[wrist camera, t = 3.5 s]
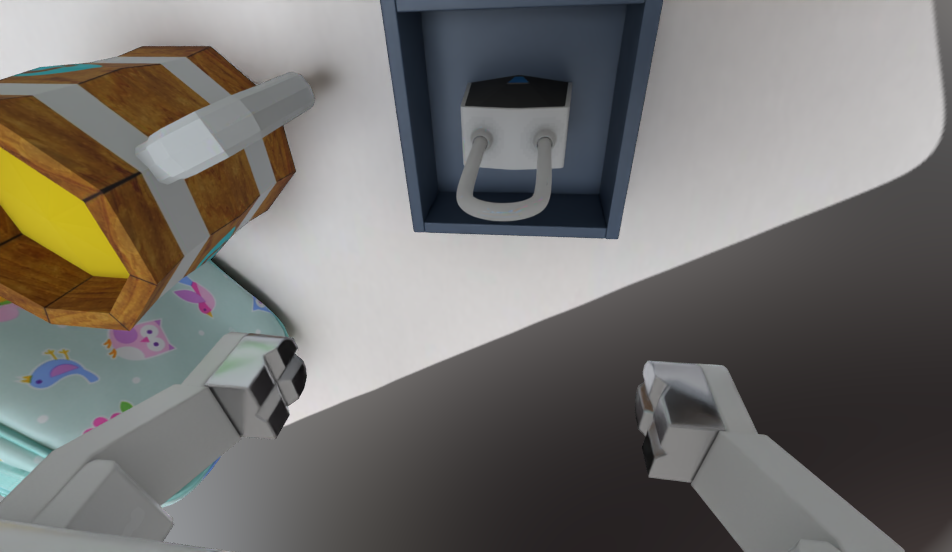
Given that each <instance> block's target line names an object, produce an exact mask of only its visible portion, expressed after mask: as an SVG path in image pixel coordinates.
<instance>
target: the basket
mask: <svg viewBox="0 0 952 552" xmlns="http://www.w3.org/2000/svg"><path fill="white" fill-rule="evenodd" d="M380 3H381V10H382V17H383V24H384V31H385V37H386V44H387V51H388V58H389V65H390V72H391V79H392V85H393V92H394V99H395V106H396V113H397V120H398V126H399V133H400V140H401V147H402V154H403V161H404V167H405V174H406V181H407V188H408V195H409V202H410V208H411V215H412V222H413V229H414V232H429V233H459V234H489V235H518V236H548V237H577V238H606V239H618V236H619V231H620V226H621V221H622V215H623V210H624V205H625V199H626V194H627V189H628V184H629V178H630V173H631V168H632V162H633V157H634V152H635V147H636V141H637V136H638V131H639V125H640V120H641V115H642V110H643V104H644V99H645V94H646V88H647V83H648V78H649V72H650V67H651V62H652V57H653V51H654V46H655V41H656V35H657V30H658V25H659V20H660V14H661V9H662V4H663V0H380ZM515 75H525V76H531V77H538V78H544V79H551V80H557V81H564V82H572V92H571V102H570V112H569V122H568V132H567V141H566V150H565V158H564V167H563V168H554V169H552V184H551V194H550V199H549V202H548V204H547V206H546V207H545V209H544V210H542V211H541V212H540V213H538V214H536V215H534V216H532V217H529V218H525V219H521V220H515V221H491V220H485V219H481V218H477V217H474V216H472V215H470V214H468V213H466V212H465V211H463V210H462V209H461V208H460V206H459V205H458V202H457V197H456V196H457V188H458V184H459V181H460V178H461V175H462V172H463V169H464V165H463V147H462V126H461V103H462V100H463V97H464V93H465V90H466V87H467V84H468V83H472V82H478V81H484V80H490V79H496V78H502V77H509V76H515ZM536 173H537V169H525V170H507V169H494V168H482V167H479V171H478V174H477V177H476V181H475V185H474V190H473V197H475V198H477V199H479V200H482V201H486V202H492V203H514V202H520V201H524V200H527V199H529V198H531V197H532V196H533V194H534V191H535V185H536Z"/></svg>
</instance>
